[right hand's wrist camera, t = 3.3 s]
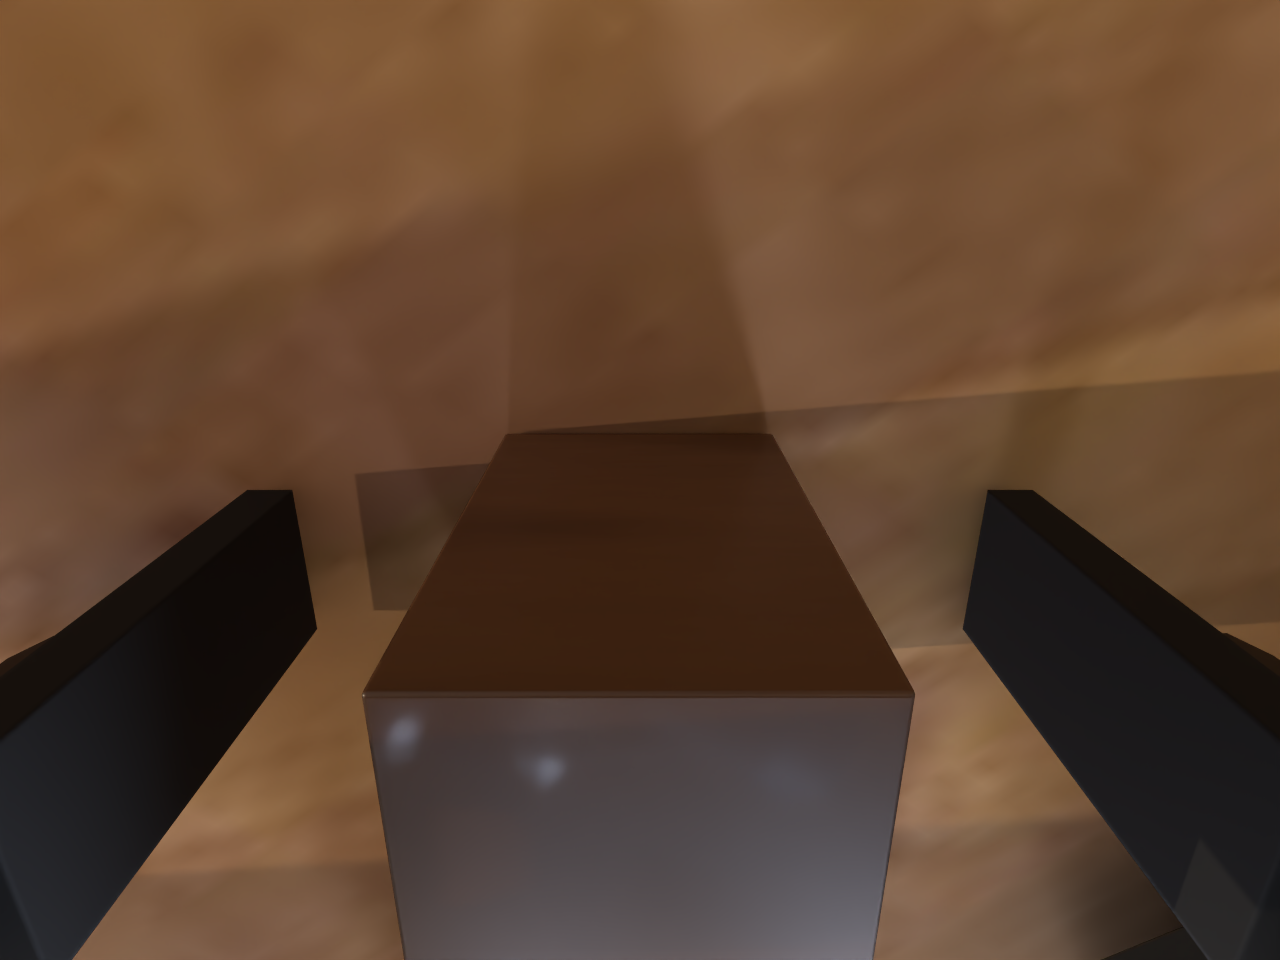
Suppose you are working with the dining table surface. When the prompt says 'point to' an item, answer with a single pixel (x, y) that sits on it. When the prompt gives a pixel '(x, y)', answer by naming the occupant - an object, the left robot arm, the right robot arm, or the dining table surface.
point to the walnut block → (638, 716)
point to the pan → (1164, 948)
